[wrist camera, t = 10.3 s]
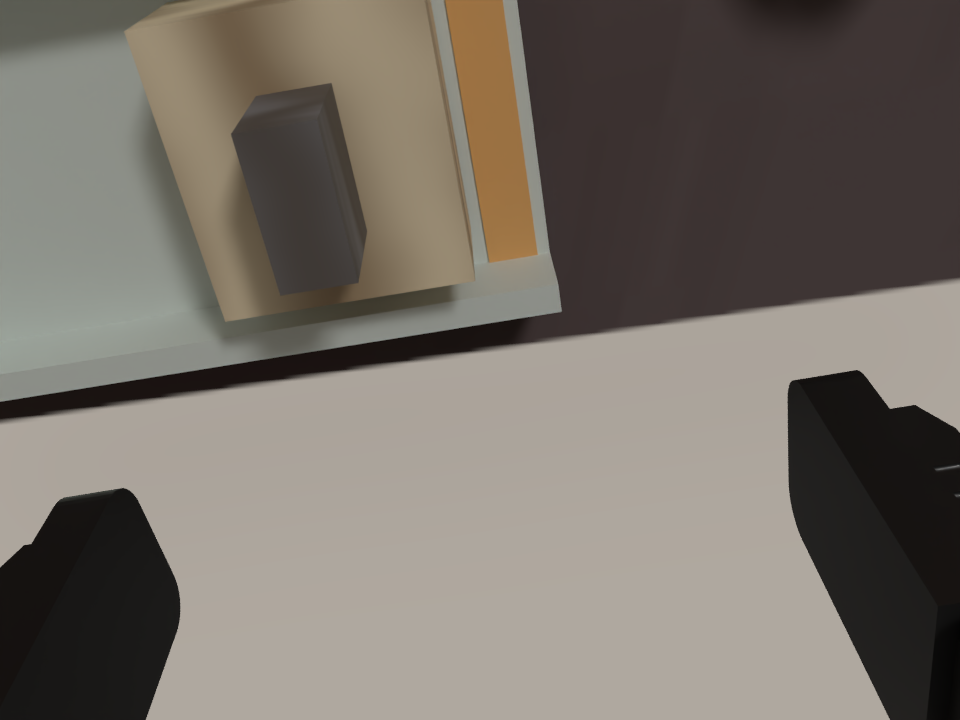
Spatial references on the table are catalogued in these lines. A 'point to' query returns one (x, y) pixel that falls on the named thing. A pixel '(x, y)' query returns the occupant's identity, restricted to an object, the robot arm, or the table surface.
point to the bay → (166, 225)
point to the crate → (309, 147)
